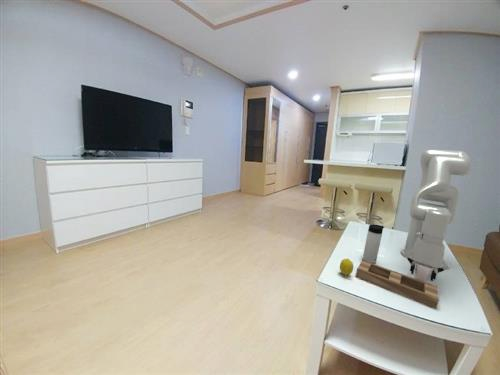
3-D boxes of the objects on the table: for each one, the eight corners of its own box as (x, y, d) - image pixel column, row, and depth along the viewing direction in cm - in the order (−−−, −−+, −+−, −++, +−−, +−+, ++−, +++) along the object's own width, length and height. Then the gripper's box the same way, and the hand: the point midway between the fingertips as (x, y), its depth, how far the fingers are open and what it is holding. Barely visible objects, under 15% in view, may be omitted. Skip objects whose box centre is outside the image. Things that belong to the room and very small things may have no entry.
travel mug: (378, 265, 108) (386, 228, 104) (364, 263, 109) (371, 226, 105) (373, 259, 114) (381, 224, 110) (360, 257, 115) (367, 222, 111)
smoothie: (430, 290, 91) (438, 260, 88) (411, 284, 94) (418, 255, 91) (427, 283, 96) (435, 254, 94) (410, 277, 99) (416, 250, 97)
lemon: (336, 271, 100) (339, 255, 98) (347, 271, 100) (350, 255, 99) (342, 278, 94) (345, 261, 93) (354, 278, 95) (357, 262, 94)
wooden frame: (360, 267, 105) (362, 259, 104) (434, 294, 88) (437, 286, 87) (355, 276, 97) (357, 268, 96) (436, 309, 80) (438, 299, 79)
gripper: (406, 234, 93) (397, 271, 97) (460, 248, 83) (448, 289, 86) (407, 230, 99) (398, 265, 103) (457, 242, 89) (446, 281, 92)
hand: (421, 276), depth 94 cm, fingers closed on smoothie, 6 cm apart
